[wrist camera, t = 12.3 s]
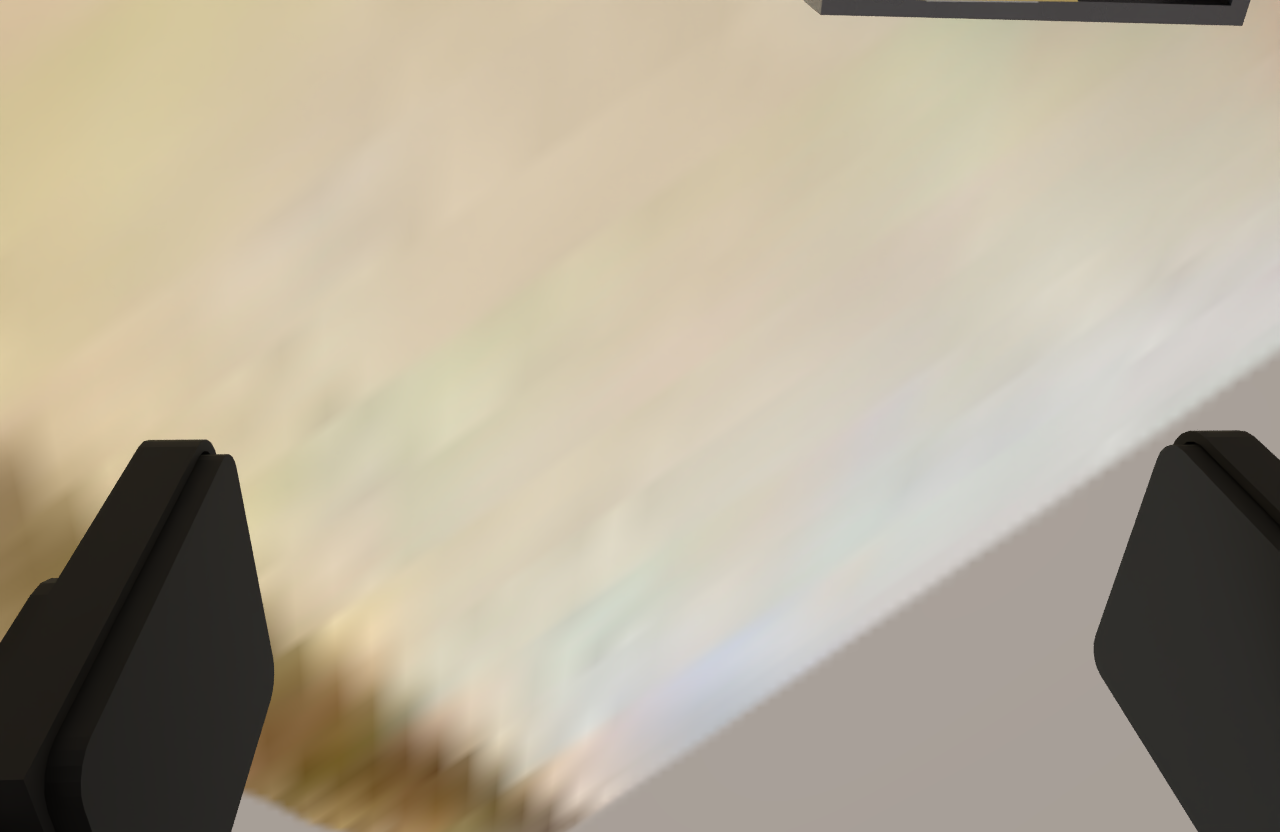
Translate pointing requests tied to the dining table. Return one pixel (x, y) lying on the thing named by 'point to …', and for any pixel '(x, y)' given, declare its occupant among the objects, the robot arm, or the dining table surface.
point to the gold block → (1000, 0)
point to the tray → (1050, 10)
